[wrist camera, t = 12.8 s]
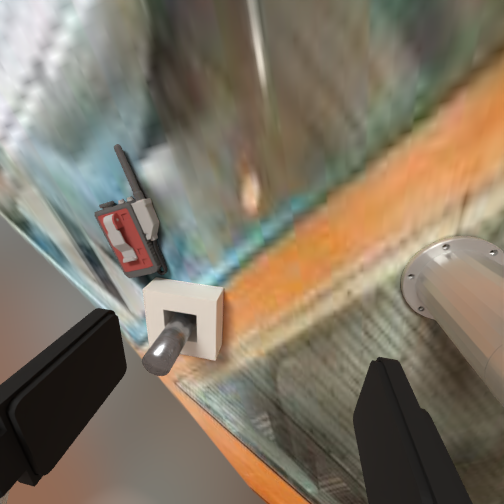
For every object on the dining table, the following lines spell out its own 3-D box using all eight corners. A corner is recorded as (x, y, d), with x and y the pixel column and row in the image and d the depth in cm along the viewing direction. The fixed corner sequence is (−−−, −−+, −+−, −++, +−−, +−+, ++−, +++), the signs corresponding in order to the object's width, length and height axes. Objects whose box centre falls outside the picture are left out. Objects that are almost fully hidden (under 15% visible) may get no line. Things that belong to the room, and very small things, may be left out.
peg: (201, 304, 44) (169, 356, 33) (201, 322, 46) (170, 378, 35) (179, 300, 45) (140, 350, 34) (180, 318, 46) (143, 372, 35)
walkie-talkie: (181, 267, 42) (128, 142, 36) (169, 280, 38) (107, 141, 32) (137, 276, 45) (80, 160, 38) (121, 289, 41) (55, 162, 34)
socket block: (223, 287, 42) (216, 301, 38) (222, 343, 47) (215, 360, 43) (155, 277, 44) (142, 289, 40) (160, 332, 48) (149, 347, 45)
